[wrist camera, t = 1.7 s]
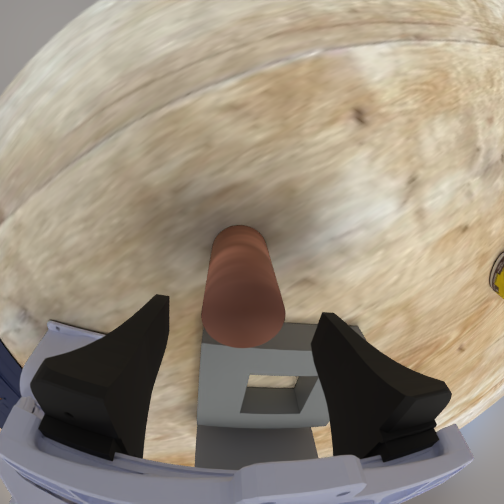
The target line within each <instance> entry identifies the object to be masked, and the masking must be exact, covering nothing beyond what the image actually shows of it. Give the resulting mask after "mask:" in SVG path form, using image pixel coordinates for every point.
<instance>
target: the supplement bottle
mask: <svg viewBox="0 0 504 504" xmlns="http://www.w3.org/2000/svg"><path fill="white" fill-rule="evenodd" d="M490 284H491V288H492V289H493V290H494V291H495V292H496V293H497V294H498V295H500V296H501V297H502V298H503V299H504V253H502V254H501V255H500V257H499V258H498V259H497V261H496V263H495V265H494V267H493V269H492V272H491V277H490Z"/></svg>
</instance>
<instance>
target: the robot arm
mask: <svg viewBox="0 0 504 504" xmlns="http://www.w3.org/2000/svg"><path fill="white" fill-rule="evenodd" d="M47 326H48V329H49V330H48V331H47V333H46V334H45V335H44V337H43V338H42V340H41V341H40V342H39V344H38V345H37V347H36V348H35V350H34V351H33V353H32V354H31V356H30V357H29V359H28V360H27V362H26V363H25V365H24V367H23V369H22V373H21V377H20V392H21V396H22V397H21V398H20V399H19V401H18V402H17V403H16V405H14V406H13V408H12V410H11V412H10V414H9V416H8V418H7V420H6V422H5V424H4V426H3V428H2V430H1V432H0V478H1V479H2V481H3V483H4V484H5V486H6V488H7V489H8V491H9V492H10V494H11V495H12V497H11V500H10V503H9V504H399V503H402V502H404V501H407V500H409V499H411V498H413V497H415V496H418V495H420V494H422V493H424V492H426V491H428V490H430V489H432V488H434V487H436V486H438V485H440V484H442V483H443V482H445V481H446V480H448V479H449V478H451V477H452V476H453V475H455V474H456V473H457V472H459V471H460V470H461V469H463V468H464V467H465V466H467V465H468V464H469V463H470V462H471V461H473V460H474V457H473V454H472V453H471V451H470V449H469V447H468V445H467V443H466V441H465V440H464V438H463V436H462V434H461V432H460V431H459V429H458V427H457V425H456V424H453V425H450V426H448V427H445V428H442V429H440V430H439V431H437V432H435V430H434V428H435V427H436V425H437V424H436V422H435V420H434V419H435V418H436V417H437V416H438V415H439V414H440V413H441V412H442V410H443V409H444V408H445V407H446V406H447V404H448V403H449V401H450V399H451V395H452V393H451V391H450V390H449V388H448V387H447V385H446V384H445V382H444V381H441V380H438V379H434V378H431V377H428V376H425V375H423V374H420V373H418V372H415V371H413V370H411V369H409V368H407V367H405V366H403V365H401V364H399V363H397V362H396V361H394V360H392V359H391V358H389V357H388V356H386V355H384V354H383V353H381V352H380V351H379V350H377V349H376V348H375V347H373V346H372V345H371V344H370V343H368V342H367V341H366V340H365V339H363V338H362V337H361V336H360V335H359V334H358V333H356V332H355V331H354V330H353V329H352V328H351V327H350V326H349V325H347V324H346V323H345V322H344V321H343V320H342V319H341V318H339V317H338V316H337V315H336V314H334V313H326V312H322V314H321V317H320V320H319V323H318V326H317V328H316V331H315V334H314V336H313V339H312V342H311V350H312V356H313V361H314V365H315V368H316V371H317V374H318V377H319V380H320V383H321V386H322V389H323V392H324V395H325V399H326V403H327V408H328V413H329V419H330V426H331V434H332V444H333V457H325V458H317V459H307V460H295V461H277V462H265V463H256V464H252V465H249V466H245V467H243V468H241V469H240V470H222V469H208V468H197V467H189V466H181V465H174V464H168V463H162V462H156V461H151V460H146V459H143V449H144V440H145V431H146V424H147V417H148V411H149V405H150V399H151V394H152V390H153V386H154V383H155V380H156V377H157V374H158V371H159V368H160V365H161V362H162V358H163V355H164V352H165V349H166V345H167V340H168V335H169V296H165V295H158V294H156V295H155V296H154V297H153V298H152V299H151V300H150V301H148V302H147V303H146V304H145V305H144V306H143V307H142V308H141V309H140V310H139V311H138V312H136V313H135V314H134V315H133V316H132V317H131V318H129V319H128V320H127V321H126V322H124V323H123V324H122V325H120V326H119V327H118V328H116V329H115V330H113V331H112V332H110V333H109V334H107V335H104V334H100V333H96V332H91V331H87V330H83V329H79V328H76V327H72V326H68V325H64V324H61V323H57V322H54V321H48V323H47Z"/></svg>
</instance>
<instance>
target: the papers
mask: <svg viewBox="0 0 504 504" xmlns="http://www.w3.org/2000/svg"><path fill="white" fill-rule="evenodd" d="M21 373H22V369H21V368H20V366H19V365H18V364H17V363H16V361H15V360H14V359H13V358H12V356H11V355H10V354H9V352H8V351H7V350H6V348H5V347H4V346H3V344H2V343H1V341H0V428H1V429H2V428H3V426H4V424H5V422H6V420H7V418H8V416H9V414H10V412H11V410H12V408H13V406H14V405H16V403H17V402H18V401H19V399H20V398H21V397H22V396H21V392H20V377H21Z"/></svg>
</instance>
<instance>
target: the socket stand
mask: <svg viewBox="0 0 504 504" xmlns="http://www.w3.org/2000/svg"><path fill="white" fill-rule="evenodd" d="M317 326H318V325H313V324H296V323H283V326H282V328H281V329H280V331H279V332H278V333H277V334H276V335H275V336H274V337H273V338H272V339H271V340H269V341H268V342H266V343H264V344H262V345H259V346H255V347H251V348H234V347H229V346H226V345H223V344H221V343H219V342H218V341H216V340H215V339H213V338H212V337H211V336H210V335H209V334H208V333H207V331H206V330H205V328H203V336H202V345H201V358H200V373H199V389H198V409H197V437H196V452H195V467H197V468H208V469H222V470H240V469H241V468H243V467H245V466H249V465H252V464H256V463H265V462H277V461H295V460H307V459H317V458H318V454H317V450H316V446H315V442H314V438H313V434H312V430H311V427H319V426H326V425H327V424H328V422H329V421H330V419H329V413H328V408H327V403H326V399H325V395H324V392H323V389H322V386H321V383H320V380H319V377H318V374H317V371H316V368H315V365H314V361H313V356H312V350H311V342H312V339H313V336H314V334H315V331H316V328H317ZM350 327H351V328H352V329H353V330H354V331H355V332H356V333H358V334H359V335H360V336H361V337H362V338H363V339H365V337H364V335H363V334H362V332H361V330H360V329H359V327H358V326H350ZM365 340H366V339H365ZM250 374H251V375H271V376H299V378H298V381H297V383H296V385H295V388H253V387H247V383H248V379H249V375H250Z"/></svg>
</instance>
